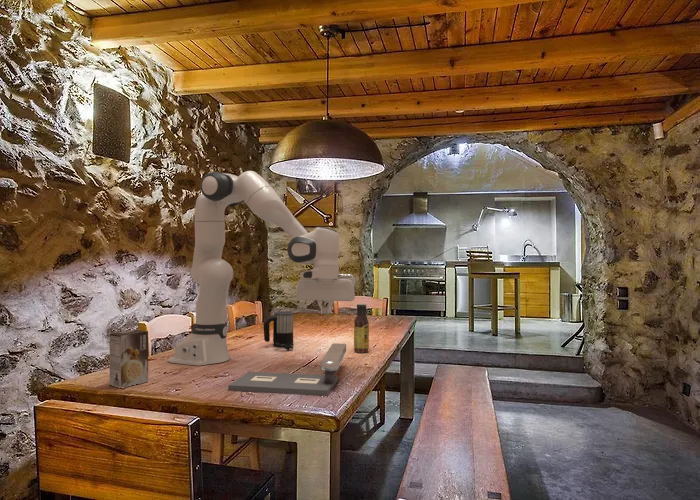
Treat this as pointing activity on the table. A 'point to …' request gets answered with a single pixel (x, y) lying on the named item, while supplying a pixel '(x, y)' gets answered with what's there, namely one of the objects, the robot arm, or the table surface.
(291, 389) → the label board
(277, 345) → the milk frother
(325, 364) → the grey flat bar
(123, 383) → the coffee box
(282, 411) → the table surface
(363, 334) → the sauce bottle
